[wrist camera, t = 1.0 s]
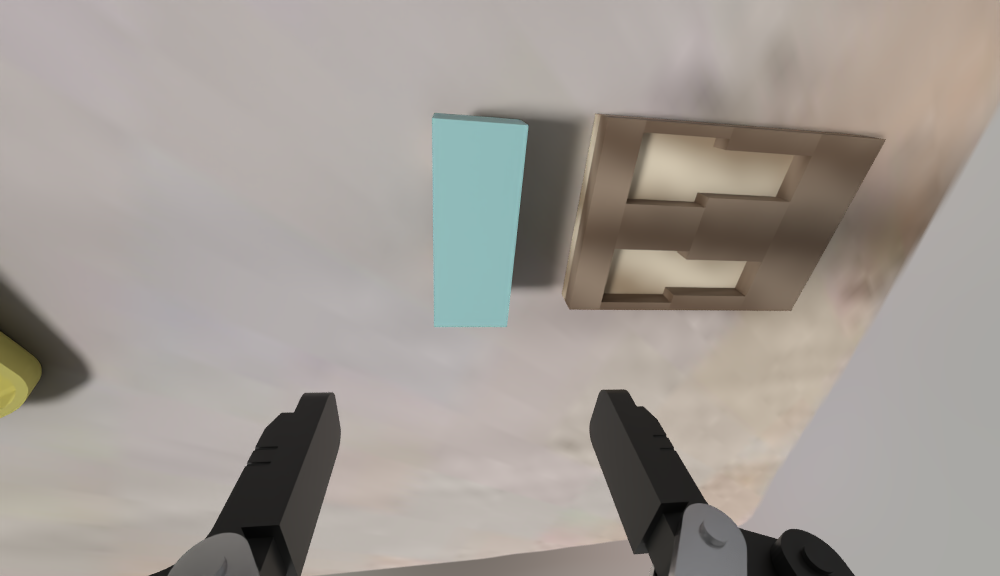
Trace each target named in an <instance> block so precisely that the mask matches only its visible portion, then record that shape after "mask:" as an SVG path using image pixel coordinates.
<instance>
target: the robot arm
mask: <svg viewBox="0 0 1000 576" xmlns="http://www.w3.org/2000/svg"><path fill="white" fill-rule="evenodd" d="M589 429H590V438H591V442H592V445H593V448H594V450H595V453H596V456H597V458H598V461H599V464H600V466H601V469H602V471H603V474H604V477H605V479H606V482H607V485H608V487H609V490H610V493H611V495H612V498H613V501H614V503H615V506H616V508H617V511H618V514H619V516H620V519H621V522H622V524H623V527H624V530H625V532H626V535H627V537H628V540H629V543H630V545H631V548H632V551H633V553H634V554H644V553H649V556H650V558H651V561H652V563H653V565H652V567H651V570H650V575H649V576H855V575H854V574H853V573H852V571H851V570H850V569H849V568H848V566H847V565H846V563H845V562H844V561H843V560H842V559H841V557H840V556H839V555H838V554H837V553H836V552H835V551H834V550H833V549H832V548H831V547H830V546H829V545H828V544H826V543H825V542H824V541H822V540H821V539H819V538H818V537H816V536H814V535H812V534H810V533H808V532H805V531H803V530H799V529H789V530H787V531H785V532H784V533H783V534H782V535H781V536H780V537H779V539H775V538H772V537H768V536H765V535H761V534H758V533H754V532H751V531H747V530H743V529H741V528H738V527H737V525H736V524H735V523H734V522H733V521H732V519H731V518H729V517H728V516H727V515H726V514H725V513H723V512H722V511H720V510H719V509H717V508H715V507H713V506H711V505H708V503H707V502H706V500H705V499H704V497H703V496H702V494H701V492H700V491H699V489H698V487H697V486H696V484H695V482H694V481H693V479H692V477H691V475H690V474H689V472H688V470H687V469H686V467H685V465H684V464H683V462H682V460H681V459H680V457H679V455H678V454H677V452H676V451H674V447H673V445H672V443H671V442H670V440H669V438H667V437H666V433H665V432H664V430H663V428H662V427H661V425H660V423H659V422H658V420H657V419H656V418H655V417H654V416H653V415H652V414H651V413H650V412H649V411H648V410H647V409H646V408H644V407H643V406H639V407H637V406H636V405H635V403H634V401H633V399H632V397H631V396H630V394H629V392H628V391H627V390H601V391H600V393H599V395H598V398H597V402H596V405H595V408H594V411H593V414H592V418H591V421H590V428H589ZM340 436H341V429H340V422H339V416H338V411H337V405H336V399H335V395H334V393H333V392H332V393H304V394H303V395H302V397H301V399H300V401H299V403H298V405H297V407H296V409H295V412H294V413H281V414H280V415H279V416H278V417H277V418H276V419H275V420H274V421H273V422H271V423H270V424H269V425H268V426H267V427H266V428H265V430H264V432H263V434H262V435H261V437H260V439H259V441H258V443H257V445H256V447H255V451H253V453H252V455H251V456H250V458H249V460H248V462H247V466H245V468H244V470H243V472H242V474H241V475H240V477H239V479H238V481H237V483H236V485H235V487H234V489H233V491H232V493H231V494H230V496H229V498H228V500H227V502H226V504H225V506H224V508H223V510H222V512H221V513H220V515H219V517H218V519H217V521H216V523H215V525H214V527H213V528H212V530H211V532H210V533H209V534H208V536H207V537H206V538H205V540H203V541H201V542H199V543H198V544H196V545H195V546H193V547H192V548H191V549H190V550H188V551H187V552H186V553H185V554H184V555H183V556H182V557H181V558H180V559H179V560H178V561H177V562H176V564H174V565H172V566H171V567H169V568H167V569H164V570H162V571H160V572H157V573H155V574H152V575H149V576H301V573H302V569H303V566H304V563H305V559H306V556H307V553H308V549H309V546H310V543H311V539H312V536H313V533H314V529H315V526H316V523H317V519H318V516H319V513H320V509H321V506H322V503H323V500H324V496H325V493H326V490H327V486H328V483H329V480H330V476H331V473H332V470H333V466H334V463H335V460H336V456H337V453H338V449H339V445H340Z"/></svg>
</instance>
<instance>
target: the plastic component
mask: <svg viewBox="0 0 1000 576" xmlns="http://www.w3.org/2000/svg"><path fill="white" fill-rule="evenodd" d="M41 374H42V368H41V365H40V363H39V361H38V360H37V359H36V358H35V357H34V356H33V355H32V354H30V353H29V352H28V351H26V350H25V349H24V348H22V347H21V346H20V345H18V344H17V343H16V342H14V341H13V340H12V339H10V338H9V337H7V336H6V335H5V334H3V333H2V332H1V331H0V418H2V417H4V416H6V415H8V414H10V413H12V412H13V411H15V410H16V409H18V408H19V407H20V406H21V405H22V404H23V403H24V402H25V401H26V399H27V398H28V396H29V395H30V393H31V392H32V390H33V389H34V387H35V386H36V384H37V383H38V381H39V380H40V378H41Z"/></svg>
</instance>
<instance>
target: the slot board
mask: <svg viewBox="0 0 1000 576" xmlns="http://www.w3.org/2000/svg"><path fill="white" fill-rule="evenodd" d="M885 140H886V139H879V138H872V137H865V136H859V135H851V134H838V133H826V132H814V131H801V130H789V129H777V128H765V127H752V126H740V125H728V124H715V123H703V122H691V121H679V120H666V119H654V118H642V117H629V116H617V115H605V114H595V119H594V124H593V130H592V135H591V140H590V146H589V151H588V156H587V162H586V167H585V172H584V178H583V183H582V189H581V194H580V199H579V205H578V210H577V215H576V221H575V226H574V231H573V237H572V242H571V247H570V253H569V258H568V263H567V269H566V274H565V279H564V285H563V290H562V296H563V298H564V300H565V302H566V304H567V306H568V308H569V309H579V310H752V311H791V310H792V308H793V306H794V304H795V303H796V301H797V299H798V297H799V295H800V294H801V292H802V290H803V288H804V286H805V285H806V283H807V281H808V279H809V277H810V276H811V274H812V272H813V270H814V268H815V267H816V265H817V263H818V261H819V259H820V257H821V256H822V254H823V252H824V250H825V248H826V247H827V245H828V243H829V241H830V239H831V238H832V236H833V234H834V232H835V230H836V229H837V227H838V225H839V223H840V221H841V220H842V218H843V216H844V214H845V212H846V211H847V209H848V207H849V205H850V203H851V202H852V200H853V198H854V196H855V194H856V192H857V191H858V189H859V187H860V185H861V183H862V182H863V180H864V178H865V176H866V174H867V173H868V171H869V169H870V167H871V165H872V164H873V162H874V160H875V158H876V156H877V155H878V153H879V151H880V149H881V147H882V146H883V144H884V142H885Z"/></svg>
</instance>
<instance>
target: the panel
mask: <svg viewBox="0 0 1000 576" xmlns="http://www.w3.org/2000/svg"><path fill="white" fill-rule="evenodd" d="M528 126H529V125H527V124H526V123H524V122H523V121H521V120H520V119H507V118H494V117H481V116H468V115H455V114H442V113H434V115H433V117H432V155H433V257H434V327H507V320H508V311H509V302H510V293H511V283H512V274H513V265H514V255H515V246H516V237H517V228H518V218H519V209H520V200H521V191H522V181H523V172H524V163H525V153H526V144H527V135H528Z"/></svg>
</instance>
